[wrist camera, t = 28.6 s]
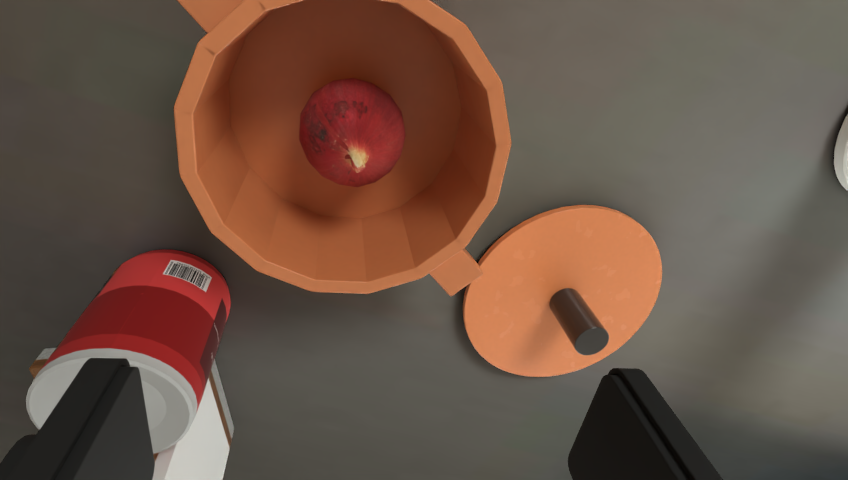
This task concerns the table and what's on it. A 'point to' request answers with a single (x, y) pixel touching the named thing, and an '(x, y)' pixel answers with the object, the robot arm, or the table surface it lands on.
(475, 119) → the pot
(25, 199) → the table surface
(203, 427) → the white shelf unit
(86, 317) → the canned food
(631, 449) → the robot arm
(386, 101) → the red rounded piece
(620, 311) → the lid
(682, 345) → the table surface
